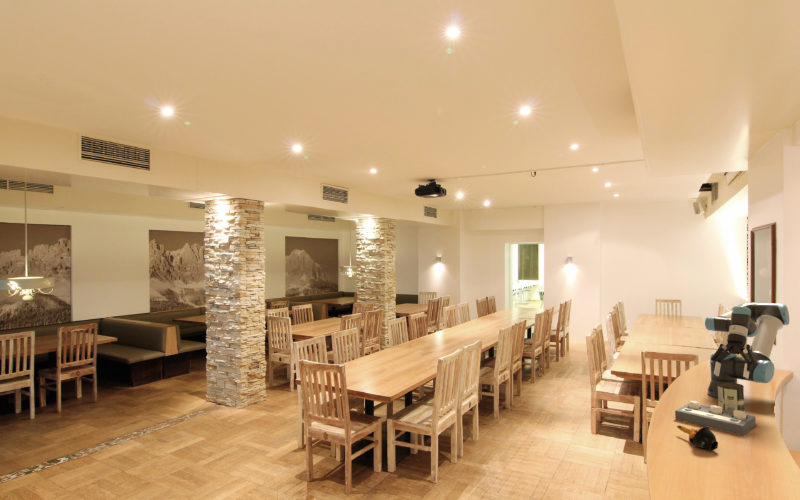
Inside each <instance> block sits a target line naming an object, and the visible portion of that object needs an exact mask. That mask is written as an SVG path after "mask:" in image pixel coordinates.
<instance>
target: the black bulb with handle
mask: <svg viewBox="0 0 800 500" xmlns="http://www.w3.org/2000/svg"><path fill="white" fill-rule="evenodd" d="M676 428H677V429H679V430H680V431H681V432H683V433H686V434H687V435H689V436H688V441H689V443H690V444H692V445H694V447H699V448H701V449H703V450H711V451H715V450H716V449H718V447H719V442H718V440H717V436H716V435H715V434H714V433H713V431H712V430H711V428H710V427H706V426H702V427H699V428H697V429H695V428H689V427H686V426H682V425H677V426H676Z"/></svg>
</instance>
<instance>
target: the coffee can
mask: <svg viewBox="0 0 800 500" xmlns="http://www.w3.org/2000/svg"><path fill="white" fill-rule="evenodd" d="M717 385H718V398H717V399H718V406H720V407H722V410H727V411H732V412H734V410H740V411H744V412H745V395H744V385H743V384H740V383H738V382H737V383H732V382H718V383H717Z"/></svg>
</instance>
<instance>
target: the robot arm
mask: <svg viewBox="0 0 800 500" xmlns="http://www.w3.org/2000/svg"><path fill="white" fill-rule="evenodd" d="M756 323H757V324H756ZM789 324H790V314H789V309H788V307H787V305H786V304H784V303H773V302H752V301H751V302H746V303H741V304H739V305H735V306H733V307H732V308H731V309H730V310H729V311H727V312H725V313H722V314H720V315H718V316H707V317H706V318H705V319H704V325H705V329H706V330H707V331H713V332H720V333H721V332H722V333H728V334H727V340H726V342H727V343H726V344H723V343H720V344H719V346H718V349H717V350H716V351H715V353H712V354H711V355H710V358H709V359H710V360H709V363H710V364H709V365H710V382H709V384H708V388H707V395H709V396H711V397H712V398H713V397H714V398H717V399H718V385H717V383H718V382H732V383H737V384H738V380H741V381H742V380H743V381H749V382H753V383H757V384H758V383H759V384H767V383H770V382H771V381H772V379H773V378H774V376H775V365H774V363H773V362H772V359H771V358H770V357H771V354H772V350H773V348H774V344H775V340H776V337H777V334H778V331H779V330H782V329H783V328H784V326H789ZM757 325H758V326H757ZM747 338H753V340H752V343H751V344H747ZM745 350H746V353H745ZM737 355H740V356H737Z"/></svg>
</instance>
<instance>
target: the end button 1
mask: <svg viewBox="0 0 800 500" xmlns="http://www.w3.org/2000/svg"><path fill="white" fill-rule="evenodd" d="M688 404H689V408H692V409H697V410H699V409H700V405H701V404H700V402H699V401H698V400H697V401H696V400H689V401H688Z"/></svg>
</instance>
